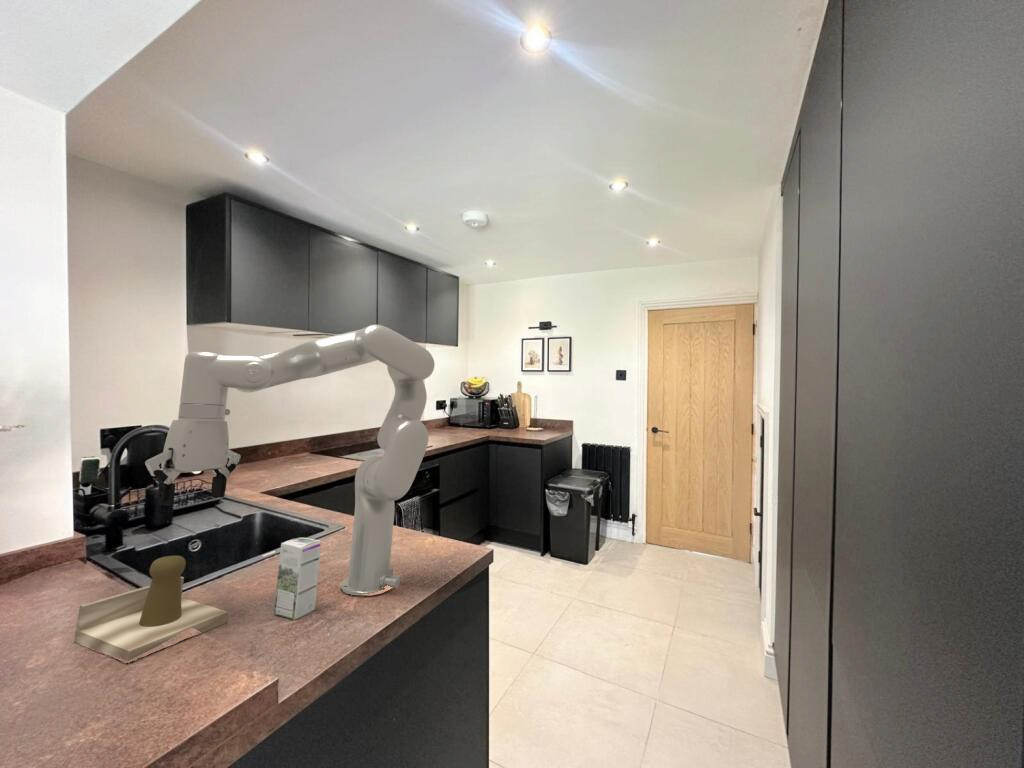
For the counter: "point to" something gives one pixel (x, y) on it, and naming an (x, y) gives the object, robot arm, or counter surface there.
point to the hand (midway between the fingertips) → (192, 500)
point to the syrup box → (297, 577)
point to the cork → (164, 592)
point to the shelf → (137, 624)
